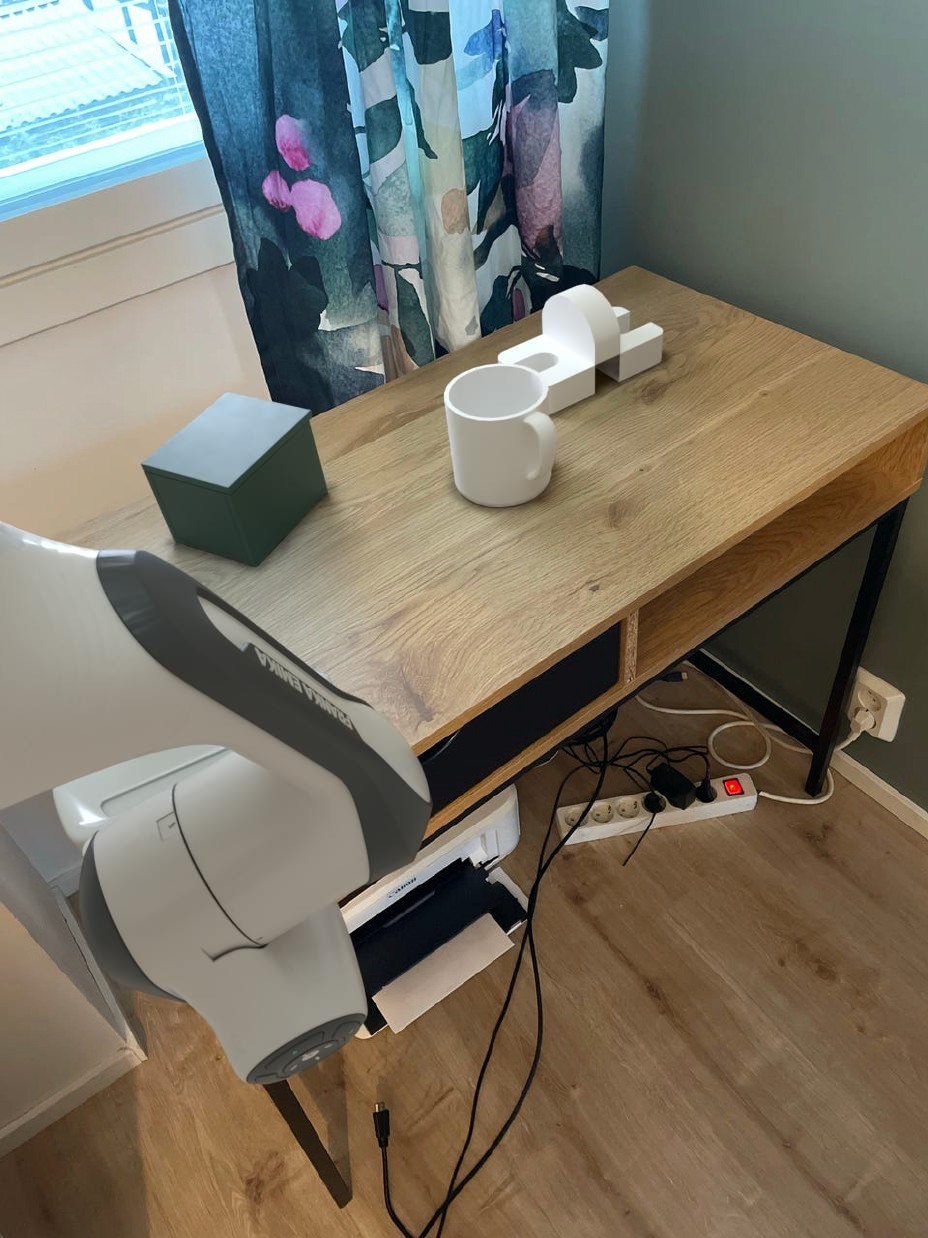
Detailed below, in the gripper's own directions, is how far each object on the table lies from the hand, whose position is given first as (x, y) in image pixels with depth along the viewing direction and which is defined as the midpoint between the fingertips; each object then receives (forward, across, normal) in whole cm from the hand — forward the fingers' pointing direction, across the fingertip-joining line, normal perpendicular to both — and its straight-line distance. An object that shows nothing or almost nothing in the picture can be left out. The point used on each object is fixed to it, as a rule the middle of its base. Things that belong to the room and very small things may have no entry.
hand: (183, 689), depth 68 cm
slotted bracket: (+31, -53, +7) cm, 62 cm away
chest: (+26, -12, +6) cm, 30 cm away
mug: (+16, -36, +7) cm, 41 cm away
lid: (+27, -12, -2) cm, 29 cm away
